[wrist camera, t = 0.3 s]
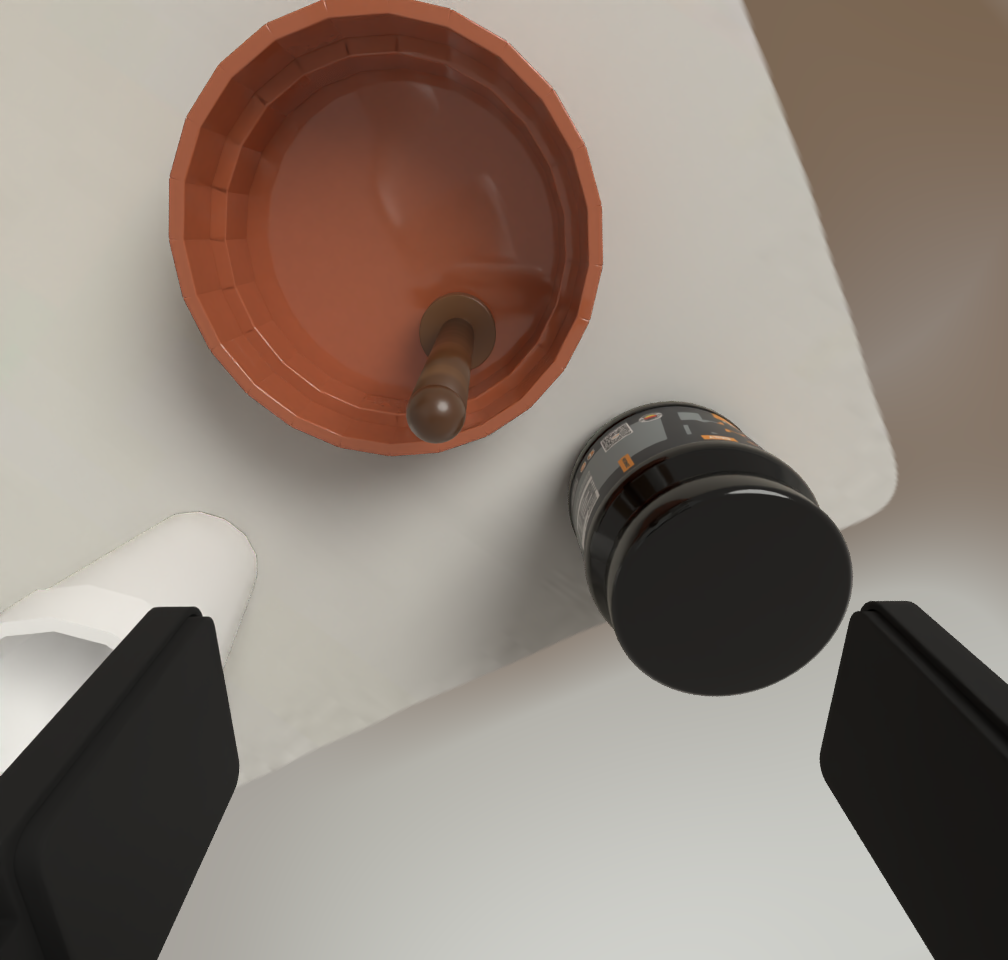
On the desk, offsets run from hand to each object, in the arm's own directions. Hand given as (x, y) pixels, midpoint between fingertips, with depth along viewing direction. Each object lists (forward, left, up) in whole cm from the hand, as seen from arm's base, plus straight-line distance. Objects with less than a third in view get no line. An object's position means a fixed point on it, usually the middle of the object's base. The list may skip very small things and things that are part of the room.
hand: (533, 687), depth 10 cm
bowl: (-7, -1, -26) cm, 27 cm away
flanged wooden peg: (-3, -1, -24) cm, 25 cm away
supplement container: (+11, +3, -26) cm, 29 cm away
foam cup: (0, -21, -26) cm, 33 cm away
